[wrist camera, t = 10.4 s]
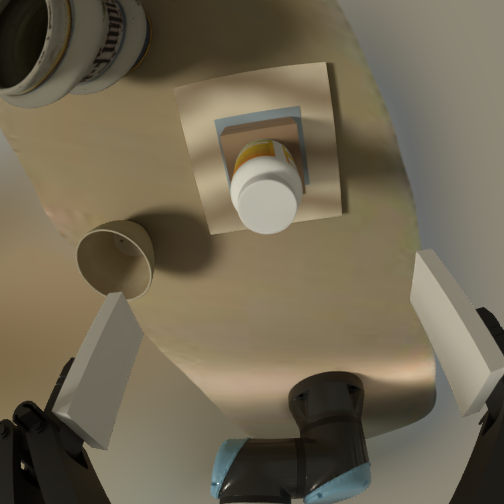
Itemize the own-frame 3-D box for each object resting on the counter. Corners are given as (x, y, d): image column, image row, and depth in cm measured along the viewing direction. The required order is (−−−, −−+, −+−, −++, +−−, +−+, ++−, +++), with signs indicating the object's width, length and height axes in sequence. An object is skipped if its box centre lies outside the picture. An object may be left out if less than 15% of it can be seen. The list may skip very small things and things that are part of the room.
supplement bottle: (226, 179, 30) (214, 226, 22) (249, 128, 27) (245, 155, 19) (278, 201, 31) (285, 254, 23) (303, 152, 28) (322, 190, 20)
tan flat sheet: (340, 212, 38) (342, 215, 37) (211, 230, 40) (210, 235, 39) (323, 62, 29) (325, 61, 28) (175, 87, 31) (173, 88, 30)
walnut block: (300, 177, 35) (306, 193, 31) (237, 187, 36) (235, 204, 31) (291, 116, 31) (296, 123, 27) (225, 127, 32) (219, 136, 28)
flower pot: (168, 208, 38) (151, 237, 32) (166, 273, 44) (152, 308, 37) (96, 199, 38) (70, 224, 32) (101, 262, 43) (81, 293, 37)
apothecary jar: (64, 90, 30) (-44, 123, 15) (76, -1, 23) (-30, -18, 8) (154, 90, 31) (67, 116, 15) (171, -9, 24) (96, -64, 9)
